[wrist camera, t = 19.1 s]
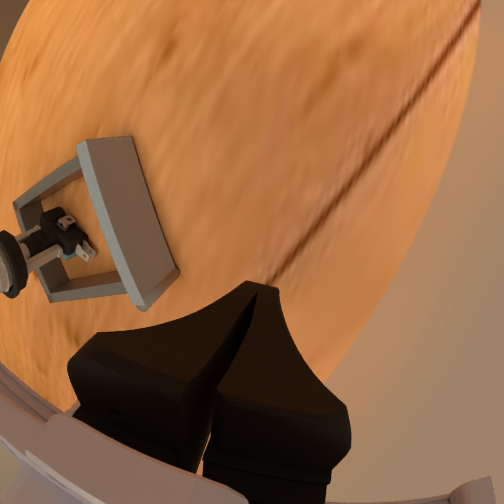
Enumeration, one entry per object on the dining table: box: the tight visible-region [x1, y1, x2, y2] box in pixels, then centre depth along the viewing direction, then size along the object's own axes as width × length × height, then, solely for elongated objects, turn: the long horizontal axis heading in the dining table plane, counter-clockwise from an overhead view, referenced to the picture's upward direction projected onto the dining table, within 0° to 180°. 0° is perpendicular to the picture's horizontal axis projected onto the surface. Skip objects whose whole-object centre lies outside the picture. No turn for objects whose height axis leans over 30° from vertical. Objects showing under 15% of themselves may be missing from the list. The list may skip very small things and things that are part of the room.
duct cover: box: [76, 136, 180, 312], centre depth 18 cm, size 12×1×5 cm, turn 17°
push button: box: [0, 207, 96, 299], centre depth 19 cm, size 7×5×10 cm
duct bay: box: [13, 156, 127, 303], centre depth 21 cm, size 11×14×3 cm
